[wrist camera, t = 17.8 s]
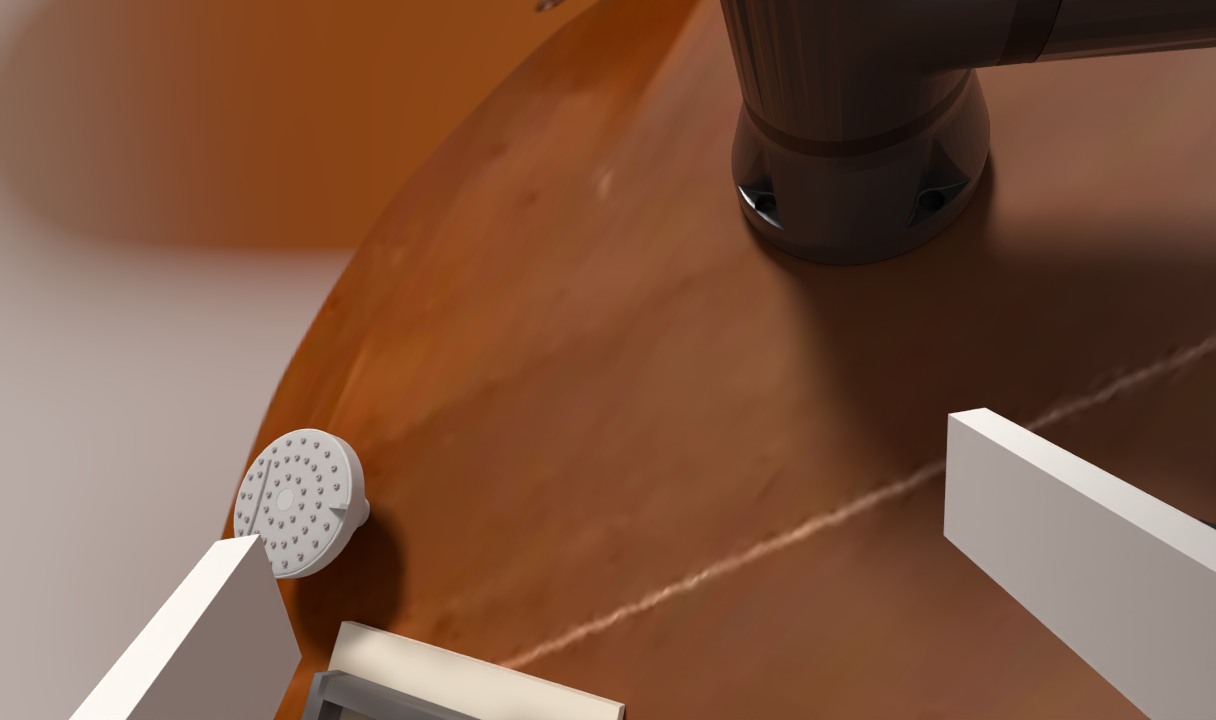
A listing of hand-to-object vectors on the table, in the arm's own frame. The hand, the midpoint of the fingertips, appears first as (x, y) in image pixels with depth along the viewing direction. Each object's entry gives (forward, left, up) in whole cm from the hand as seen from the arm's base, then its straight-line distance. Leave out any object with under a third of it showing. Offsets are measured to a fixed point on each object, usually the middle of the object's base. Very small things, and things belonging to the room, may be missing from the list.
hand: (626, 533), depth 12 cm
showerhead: (+1, -29, -26) cm, 40 cm away
